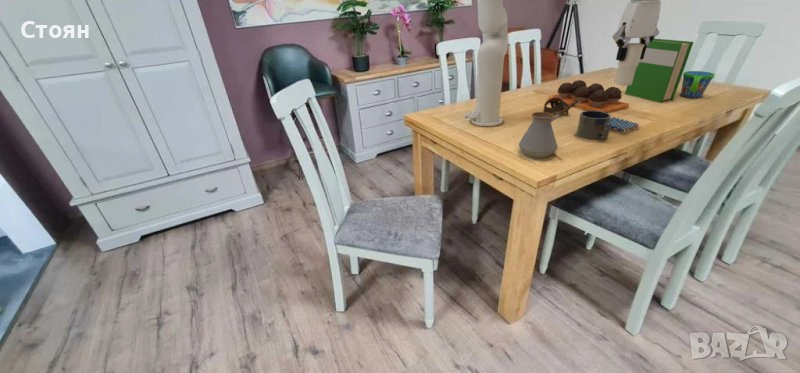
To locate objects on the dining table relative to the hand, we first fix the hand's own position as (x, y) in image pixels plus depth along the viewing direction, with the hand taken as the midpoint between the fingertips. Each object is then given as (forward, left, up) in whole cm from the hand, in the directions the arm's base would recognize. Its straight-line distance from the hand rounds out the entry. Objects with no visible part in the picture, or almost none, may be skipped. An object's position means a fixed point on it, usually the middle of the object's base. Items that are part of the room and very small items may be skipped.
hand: (629, 59), depth 110 cm
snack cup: (+60, +27, -25) cm, 71 cm away
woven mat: (+3, +1, -25) cm, 25 cm away
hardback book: (+43, +32, -25) cm, 60 cm away
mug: (-11, -5, -25) cm, 27 cm away
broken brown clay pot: (-9, +22, -25) cm, 34 cm away
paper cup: (0, 0, -8) cm, 8 cm away
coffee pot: (-30, -10, -25) cm, 41 cm away
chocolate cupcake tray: (+12, +32, -25) cm, 43 cm away
